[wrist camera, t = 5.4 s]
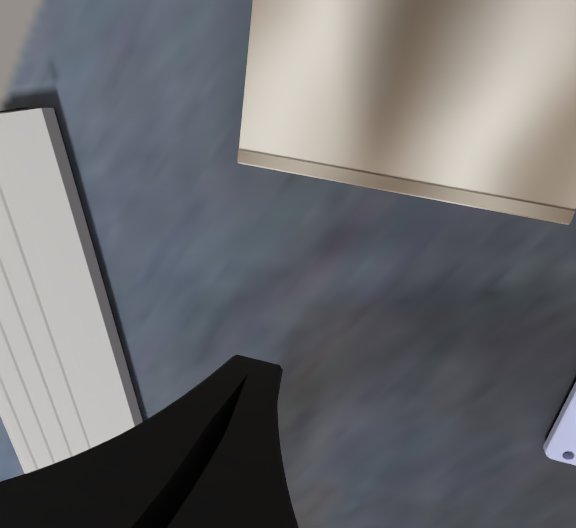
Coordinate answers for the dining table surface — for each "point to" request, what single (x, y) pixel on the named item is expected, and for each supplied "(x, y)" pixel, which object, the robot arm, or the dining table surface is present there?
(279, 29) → the tan flat block
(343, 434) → the dining table surface
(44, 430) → the baseboard
